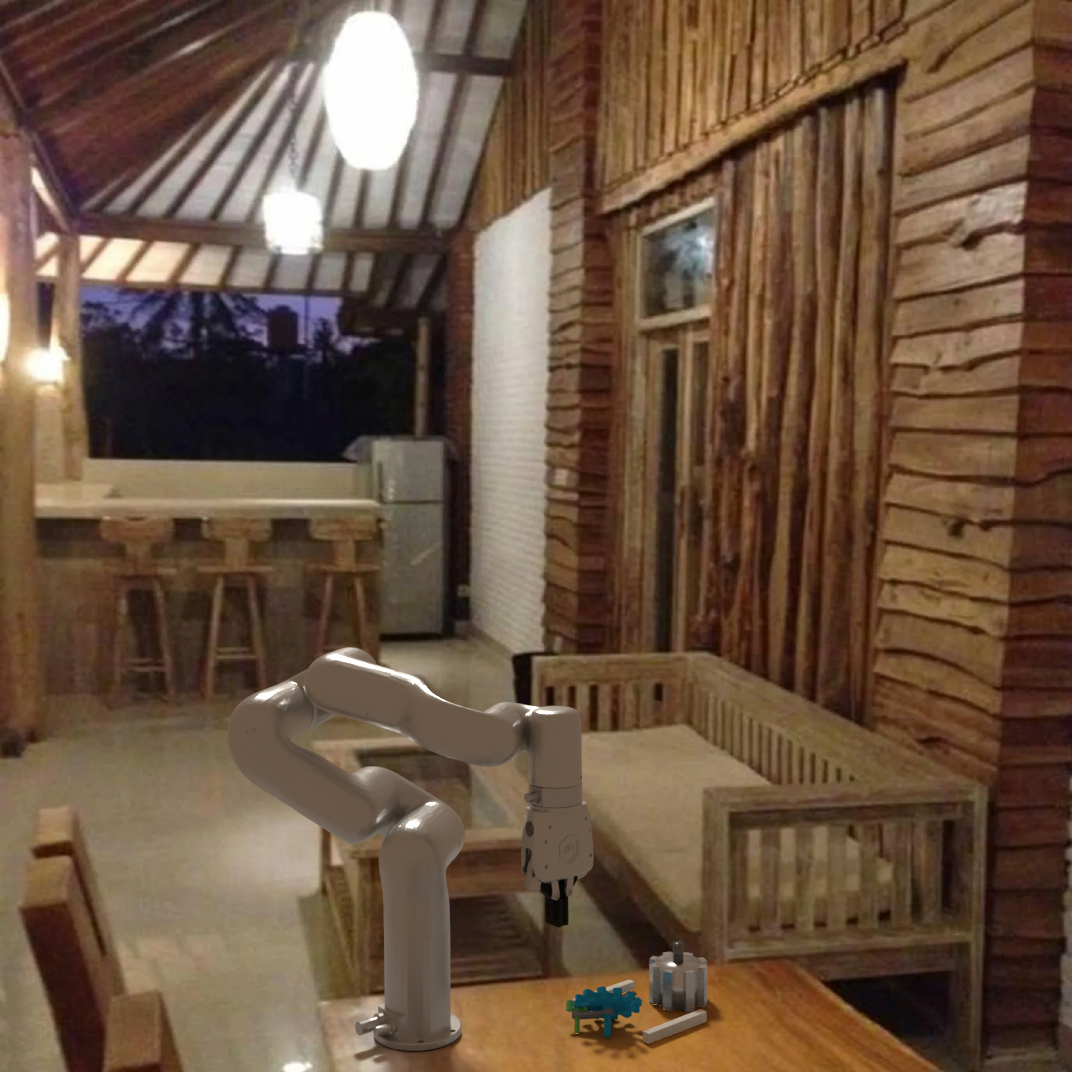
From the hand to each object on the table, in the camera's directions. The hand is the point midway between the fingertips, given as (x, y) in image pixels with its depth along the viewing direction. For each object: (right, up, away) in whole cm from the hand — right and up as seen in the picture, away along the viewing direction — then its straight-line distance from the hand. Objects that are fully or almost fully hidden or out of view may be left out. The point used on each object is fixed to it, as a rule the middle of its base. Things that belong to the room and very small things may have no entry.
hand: (556, 923), depth 187 cm
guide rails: (+12, -17, +11) cm, 24 cm away
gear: (+7, -18, +7) cm, 20 cm away
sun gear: (+19, -17, +17) cm, 30 cm away
